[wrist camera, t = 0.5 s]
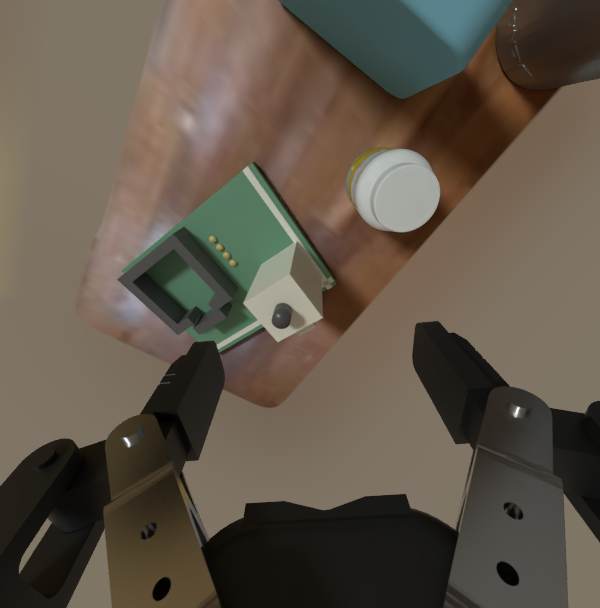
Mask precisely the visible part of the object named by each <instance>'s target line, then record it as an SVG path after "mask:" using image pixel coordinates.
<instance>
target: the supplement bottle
mask: <svg viewBox="0 0 600 608" xmlns="http://www.w3.org/2000/svg"><path fill="white" fill-rule="evenodd" d="M346 190H347V194H348V197H349V199H350V201H351V203H352V204H353V205H354V207H355V208H356V210H357V211H358V212H359V214H360V215H361V217H362V218H363V219H364V220H365V221H366V222H367V223H368V224H369V225H370V226H372V227H374V228H376V229H379V230H383V231H394V232H408V231H412V230H415V229H417V228H419V227H421V226H422V225H423V224H425V223H426V222H427V221H428V220H429V219H430V218H431V216H432V215H433V214H434V212H435V210H436V208H437V206H438V203H439V199H440V186H439V182H438V179H437V178H436V176H435V175H434V173H433V171H432V168H431V166H430V164H429V163H428V162H427V160H426V159H425V158H424V157H423V156H421V155H420V154H418V153H416V152H414V151H411V150H407V149H395V148H376V149H372V150H369V151H367V152H365V153H363V154H362V155H360V156H359V157H358V158H357V159H356V160H355V161H354V163H353V164H352V166H351V168H350V170H349V172H348V175H347V180H346Z"/></svg>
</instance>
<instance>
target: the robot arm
mask: <svg viewBox="0 0 600 608" xmlns="http://www.w3.org/2000/svg"><path fill="white" fill-rule="evenodd" d="M496 48H497V54H498V59H499V61H500V64H501V66H502V69H503V71H504V72H505V73H506V74H507V76H508V77H509V78H510V80H512V81H513V82H514V83H516V84H517V85H519V86H520V87H523V88H527V89H530V90H547V89H552V88H557V87H561V86H566V85H570V84H575V83H579V82H584V81H589V80H594V79H599V78H600V0H513V1H512V3H511V4H510V6H509V7H508V8H507V10H506V11H505V13H504V14H503V15H502V17H501V18H500V20H499V21H498V22H497V24H496ZM412 358H413V365H414V368H415V371H416V372H417V374H418V376H419V378H420V380H421V382H422V383H423V385H424V387H425V389H426V391H427V393H428V394H429V396H430V398H431V400H432V402H433V403H434V405H435V407H436V409H437V411H438V413H439V414H440V416H441V418H442V420H443V422H444V424H445V425H446V427H447V429H448V431H449V433H450V435H451V436H452V438H453V440H454V442H455V444H465V443H470V445H471V447H472V449H473V455H472V458H471V462H470V466H469V471H468V475H467V479H466V484H465V488H464V492H463V496H462V501H461V505H460V509H459V513H458V517H457V521H456V525H455V529H453V528H452V527H450V526H449V525H447V524H446V523H444V522H442V521H440V520H439V519H437V518H435V517H433V516H431V515H429V514H427V513H424V512H422V511H419V510H416V509H412V508H410V506H409V502H408V499H407V496H406V494H399V495H382V496H366V497H363V498H360V499H357V500H355V501H352V502H349V503H346V504H344V505H341V506H338V507H335V508H333V509H330V510H319V509H315V508H310V507H306V506H302V505H298V504H294V503H290V502H286V501H281V502H263V503H246V507H245V512H244V518H241V519H239V520H237V521H235V522H233V523H231V524H229V525H228V526H227V527H225V528H223V529H222V530H220V531H219V532H218V533H217V534H216V535H214V536H213V537H212V538H211V539H209V537H208V535H207V532H206V530H205V528H204V525H203V523H202V521H201V518H200V515H199V513H198V510H197V508H196V505H195V503H194V500H193V497H192V495H191V492H190V490H189V487H188V485H187V482H186V479H185V477H184V474H183V472H182V469H183V467H184V464H185V461H195V460H198V459H199V457H200V454H201V451H202V448H203V445H204V442H205V439H206V436H207V433H208V430H209V427H210V424H211V421H212V418H213V416H214V413H215V410H216V407H217V404H218V401H219V398H220V395H221V392H222V389H223V386H224V381H225V374H224V369H223V365H222V362H221V358H220V355H219V352H218V348H217V345H216V343H215V341H201V342H194V343H193V344H192V346H191V348H190V350H189V351H188V353H187V355H183V356H181V357H180V358H178V359H177V360H176V361H175V362H174V363H173V364H171V366H170V368H169V369H168V371H167V373H166V374H165V376H164V377H163V379H162V380H161V382H160V385H158V387H157V388H156V390H155V391H154V393H153V394H152V396H151V398H150V399H149V401H148V402H147V404H146V406H145V407H144V409H143V410H142V412H141V413H140V415H137V416H133V417H131V418H129V419H127V420H125V421H123V422H122V423H121V424H119V425H118V426H117V427H116V428H115V429H114V430H113V431H112V432H111V433H110V435H109V436H108V438H107V440H104V441H101V442H98V443H95V444H92V445H89V446H86V447H83V448H80V449H79V448H78V447H77V445H76V444H75V443H74V441H73V440H71V439H59V440H55V441H53V442H50V443H48V444H46V445H44V446H42V447H40V448H38V449H37V450H35V451H34V452H32V453H31V454H30V455H29V456H27V457H26V458H25V459H24V460H23V461H22V462H21V463H20V464H19V465H18V467H17V468H16V469H15V470H14V471H13V472H12V473H11V475H10V476H9V477H8V478H7V479H6V480H5V481H4V483H3V484H2V485H1V486H0V608H66V607H67V605H68V603H69V601H70V599H71V597H72V595H73V593H74V591H75V589H76V586H77V585H78V582H79V580H80V578H81V576H82V574H83V572H84V570H85V568H86V566H87V564H88V562H89V560H90V558H91V556H92V554H93V551H94V549H95V547H96V545H97V543H98V541H99V539H100V537H101V535H102V533H103V531H104V529H105V535H106V536H105V537H106V547H107V558H108V569H109V579H110V590H111V601H112V608H568V590H567V565H566V545H565V544H566V542H565V520H564V496H563V493H564V494H565V495H566V497H567V498H568V499H569V501H570V502H571V504H572V505H573V506H574V508H575V509H576V510H577V512H578V513H579V515H580V516H581V517H582V519H583V520H584V521H585V523H586V524H587V526H588V527H589V528H590V530H591V531H592V532H593V534H594V535H595V536H596V538H597V539H598V541H599V542H600V401H597V402H593V403H592V404H590V405H589V407H588V409H587V411H586V413H585V414H583V413H577V412H571V411H564V410H559V409H553V408H549V407H548V405H547V404H546V403H545V402H544V401H542V400H541V399H540V398H538V397H537V396H535V395H533V394H532V393H530V392H527V391H525V390H522V389H519V388H514V387H510V386H509V385H508V384H507V383H506V382H505V381H504V380H503V379H502V377H501V376H500V375H499V374H498V373H497V372H496V371H495V370H494V369H493V368H492V366H491V365H490V364H489V363H488V362H487V361H486V360H485V359H483V357H482V356H481V355H480V354H479V353H478V351H476V350H475V348H474V347H473V346H472V345H471V344H470V343H469V342H468V341H467V340H466V339H464V338H462V337H460V336H459V335H457V334H455V333H448V332H447V330H446V329H445V328H444V327H443V326H442V325H441V323H439V322H438V321H434V322H422V323H417V324H416V327H415V334H414V344H413V355H412ZM47 518H48V519H49V520H50V521H51V522H52V524H51V525H50V527H49V528H48V530H47V532H46V533H45V535H44V536H43V538H42V539H41V541H40V543H39V544H38V546H37V547H36V549H35V550H34V552H33V554H32V555H31V557H30V558H29V560H28V561H27V563H26V565H25V566H24V568H23V570H22V571H21V573H20V574H19V565H20V561H21V559H22V556H23V554H24V553H25V551H26V549H27V548H28V546H29V545H30V543H31V542H32V540H33V538H34V537H35V535H36V534H37V532H38V531H39V530H40V528H41V526H42V525H43V523H44V522H45V521H46V519H47Z"/></svg>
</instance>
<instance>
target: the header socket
mask: <svg viewBox="0 0 600 608" xmlns="http://www.w3.org/2000/svg"><path fill="white" fill-rule="evenodd" d="M209 241H210V242H211V243H215V242H216V241H217V238H216V237H215V236H210V237H209ZM223 248H224V247H223V245H222V244H218V245H217V246H216V249H217V250H218V251H222V250H223ZM173 249H174V250H175V251H176V252H177V253H178V254H179V255H180V256H181V257H182V258H183V259H184V260H185V262H186V263H187V264H188V265H189V266H190V267H191V268H192V269H193V270H194V271H195V272H196V273H197V274H198V275H199V276H200V278H201V279H202V280H203V281H204V282H205V283H206V284H207V285H208V286H209V287H210V288H211V289H212V290H213V291H214V292H215V294H214V295H213V297H212V298H211V300H210V302H209V303H208V305H209V306H210V307H211V308H212V309H211V310H209V311H208V312H206V313H205V314H203V315H202V316H201V317H200V318H199V316H200V315H201V313H202V312H201V311H200V310H199V309H198V308H197V307H196V306H195V307H193V308H192V309H190V310H189V311H187V312H186V311H185V310H184V309H183V308H182V307H181V306H180V305H179V304H178V303H177V302H176V301H175V300H174V299H173V298H172V297H170V296H169V295H168V294H167V293H166V292H165V291H164V290H163V289H162V288H161V287H160V286H159V285H158V284H157V283H156V282H155V281H154V280H153V279H152V278H151V277H150V276H149V275H148V274H147V273H146V271H147V270H148V269H149V268H151V267H152V266H153V265H154V264H156V263H157V262H158V261H159V260H161V259H162V258H163V257H165V256H166V255H167V254H168V253H170V252H171V251H172V250H173ZM223 257H224V258H225V259H229V258H230V253H229V252H224V253H223ZM236 264H237V262H236V261H235V260H231V261H230V265H231V266H232V267H234V266H236ZM117 280H118V281H119V282H121V283H122V284H123V285H124V286H125V287H126V288H127V289H128V290H129V291H130V292H132V293H133V294H134V295H135V296H136V297H137V298H138V299H139V300H140V301H141V302H142V303H144V304H145V305H146V306H147V307H148V308H149V309H150V310H151V311H152V312H153V313H155V314H156V315H157V316H158V317H159V318H160V319H161V320H162V321H163V322H164V323H165V324H167V325H168V326H169V327H170V328H171V329H172V330H173V331H174V332H175V333H176V334H178V335H179V334H180V333H182V332H183V331H185V330H186V329H188V328H189V327H191V326H193V325H194V324H195V322H196V321H197V319H198V318H199V320H198V321H197V323H196V324H195V326H194V328H193V329H194V330H195V331H196V332H197V333H198V334H199V335H200V334H202V333H203V332H205V331H206V330H208V329H210V328H211V327H213V326H214V325H216V324H218V323H219V322H221V321H222V320H224V319H225V318H227V316H228V314H229V312H230V310H231V308H232V305H231V303H230V302H229V301H231V300H232V299H233V298H234V296H235V294H236V292H237V290H238V287H237V286H236V285H235V284H234V283H233V281H232V280H231V279H230V278H229V277H228V276H227V275H226V274H225V272H224V271H223V270H222V269H221V268H220V267H219V266H218V265H217V263H216V262H215V261H214V260H213V259H212V258H211V257H210V255H209V254H208V253H207V252H206V251H205V250H204V249H203V248H202V246H201V245H200V244H199V243H198V242H197V241H196V240H195V238H194V237H193V236H192V235H191V234H190V233H189V232H188V231H187V229H186V228H185V227H183V228H181V229H180V230H178V231H177V232H175V233H174V234H172V235H171V236H170V237H169V238H167V239H166V240H165V241H164V242H162V243H161V244H160V245H159V246H158V247H156V248H155V249H154V250H153V251H151V252H150V253H149V254H148V255H147V256H145V257H144V258H143V259H142V260H141V261H139V262H138V263H137V264H136V265H134V266H133V267H132V268H131V269H130V270H128V271H127V272H126V273H125V274H123V275H122V276H121V277H120V278H119V279H117Z"/></svg>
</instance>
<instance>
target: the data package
mask: <svg viewBox="0 0 600 608" xmlns="http://www.w3.org/2000/svg"><path fill="white" fill-rule="evenodd" d="M279 1H280V2H281V3H282V4H283V5H284V6H285V7H286V8H287V9H288V10H289V11H291V12H292V13H293V14H294V15H295V16H297V17H298V18H299V19H300V20H301V21H303V22H304V23H305V24H306V25H307V26H309V27H310V28H311V29H312V30H313V31H315V32H316V33H317V34H318V35H319V36H321V37H322V38H323V39H324V40H325V41H327V42H328V43H329V44H330V45H331V46H333V47H334V48H335V49H336V50H337V51H339V52H340V53H341V54H342V55H343V56H345V57H346V58H347V59H348V60H349V61H351V62H352V63H353V64H354V65H355V66H357V67H358V68H359V69H360V70H361V71H363V72H364V73H365V74H366V75H367V76H369V77H370V78H371V79H372V80H373V81H375V82H376V83H377V84H378V85H379V86H381V87H382V88H383V89H384V90H386V91H387V92H388V93H390V94H391V95H393V96H395V97H397V98H400V99H405V98H407V97H409V96H412V95H414V94H416V93H418V92H420V91H422V90H424V89H426V88H428V87H431V86H433V85H435V84H437V83H439V82H441V81H443V80H445V79H448V78H450V77H452V76H454V75H456V74H458V73H460V72H461V71H463V70H464V69H465V67H466V66H467V65H468V63H469V62H470V60H471V59H472V58H473V56H474V55H475V53H476V52H477V51H478V49H479V48H480V46H481V45H482V43H483V42H484V41H485V39H486V38H487V36H488V35H489V34H490V32H491V31H492V29H493V28H494V27H495V25H496V24H497V22H498V21H499V20H500V18H501V17H502V15H503V14H504V13H505V11H506V10H507V8H508V7H509V6H510V4H511V3H512V1H513V0H279Z"/></svg>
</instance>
